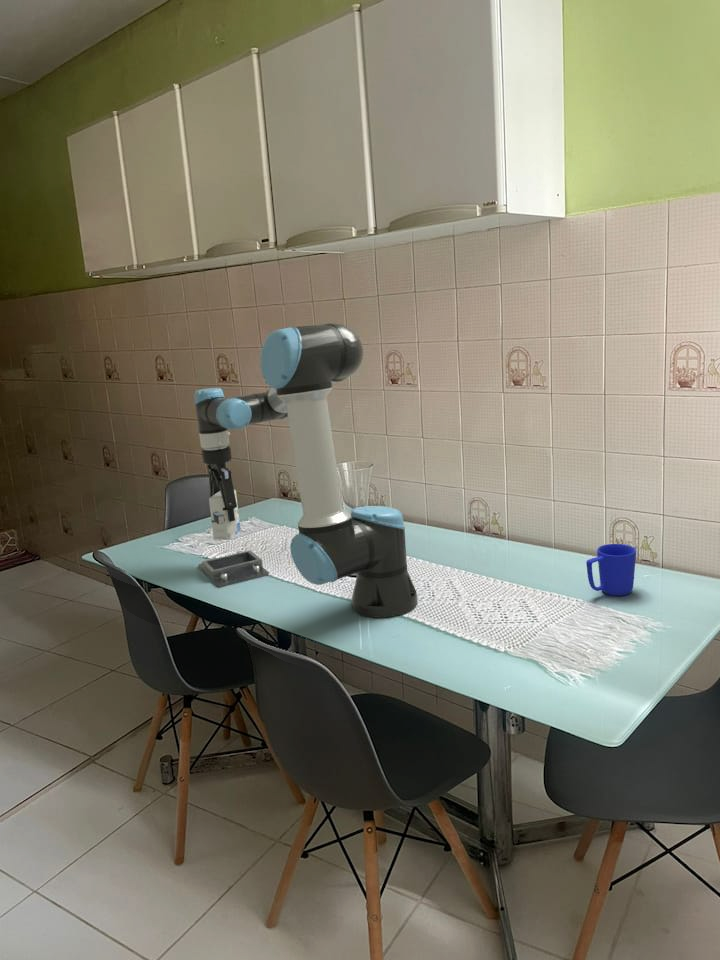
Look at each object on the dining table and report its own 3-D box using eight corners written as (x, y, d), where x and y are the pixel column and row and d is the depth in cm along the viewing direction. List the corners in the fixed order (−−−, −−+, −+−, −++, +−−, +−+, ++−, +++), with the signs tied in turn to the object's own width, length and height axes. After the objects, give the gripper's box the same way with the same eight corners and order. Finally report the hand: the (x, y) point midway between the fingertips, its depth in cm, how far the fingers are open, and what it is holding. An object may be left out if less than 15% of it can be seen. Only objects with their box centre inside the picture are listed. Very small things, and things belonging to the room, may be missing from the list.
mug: (576, 593, 165) (575, 552, 162) (618, 581, 169) (617, 541, 167) (601, 605, 157) (600, 562, 155) (644, 593, 162) (644, 550, 160)
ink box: (225, 530, 203) (219, 489, 200) (242, 530, 202) (236, 489, 199) (213, 540, 195) (207, 498, 192) (230, 540, 193) (225, 497, 191)
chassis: (269, 575, 195) (267, 564, 194) (218, 587, 189) (217, 577, 188) (245, 555, 212) (244, 546, 211) (198, 567, 206) (197, 557, 205)
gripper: (242, 450, 184) (253, 534, 190) (217, 439, 204) (228, 516, 209) (213, 455, 181) (225, 540, 186) (191, 444, 200) (202, 521, 206)
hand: (226, 527), depth 198 cm, fingers closed on ink box, 9 cm apart
